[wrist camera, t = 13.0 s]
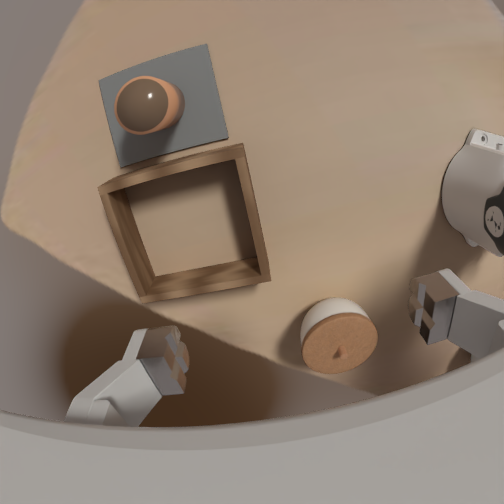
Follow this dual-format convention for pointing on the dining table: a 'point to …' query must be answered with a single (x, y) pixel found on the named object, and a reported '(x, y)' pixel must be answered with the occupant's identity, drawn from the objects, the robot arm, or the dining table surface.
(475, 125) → the dining table surface
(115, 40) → the dining table surface
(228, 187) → the dining table surface
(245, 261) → the wooden frame
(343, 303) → the lidded jar
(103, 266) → the dining table surface
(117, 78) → the slate mat
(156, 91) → the peach cylinder
